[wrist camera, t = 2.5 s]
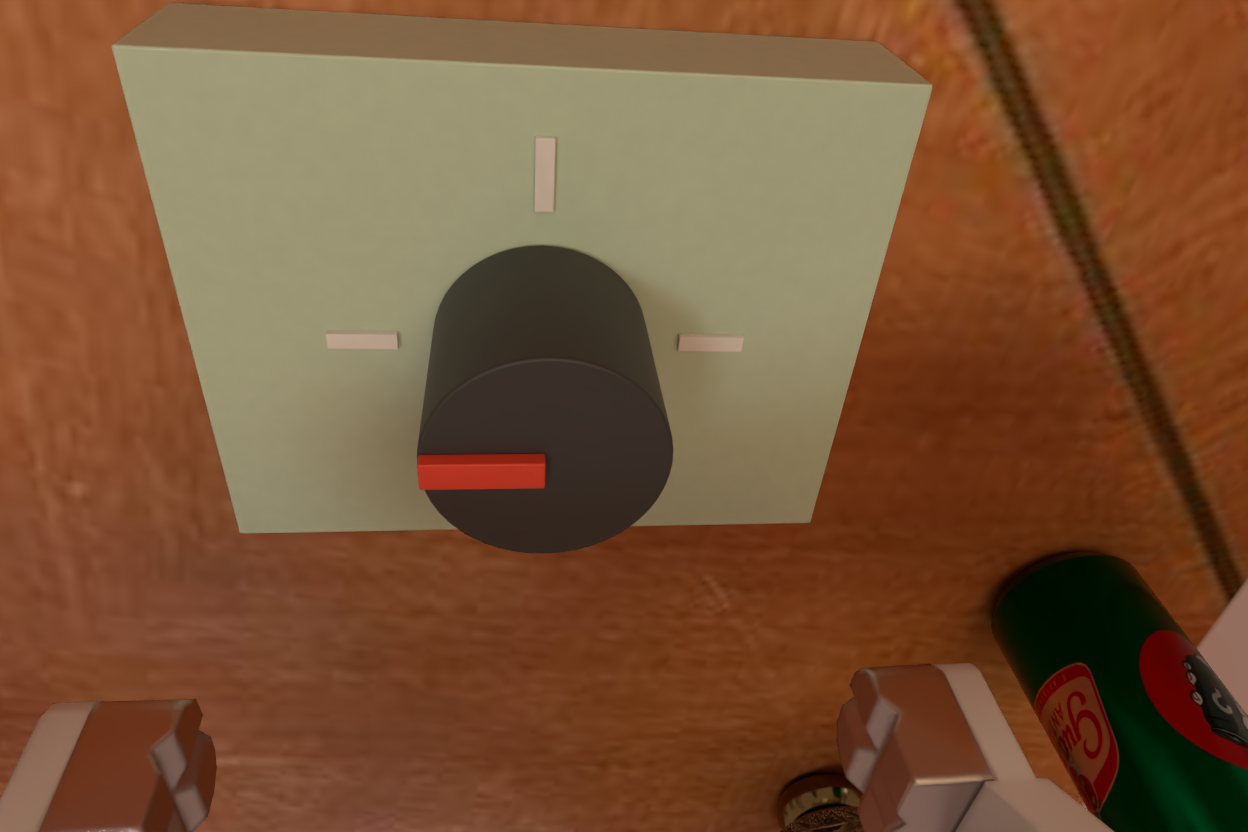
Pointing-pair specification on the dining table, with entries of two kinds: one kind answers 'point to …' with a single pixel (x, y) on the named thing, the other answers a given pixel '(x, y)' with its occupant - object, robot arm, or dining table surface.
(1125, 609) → the soda can
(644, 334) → the knob
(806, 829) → the dark grey rounded lump
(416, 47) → the panel
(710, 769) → the dining table surface
